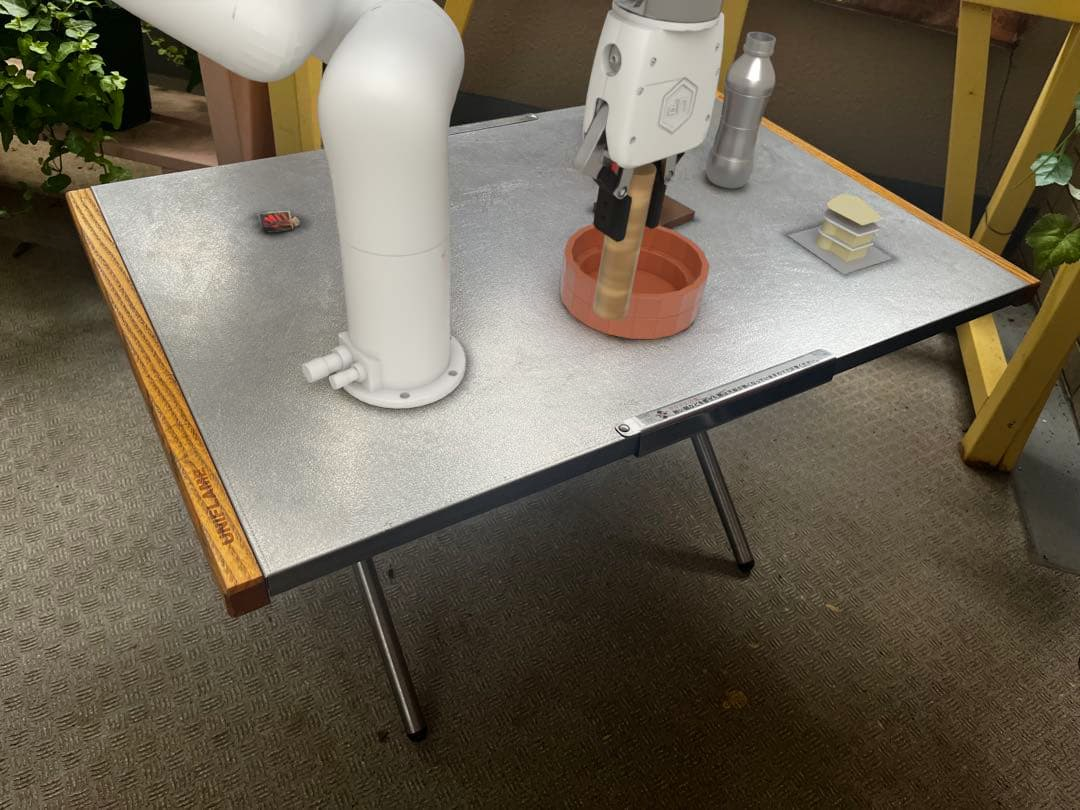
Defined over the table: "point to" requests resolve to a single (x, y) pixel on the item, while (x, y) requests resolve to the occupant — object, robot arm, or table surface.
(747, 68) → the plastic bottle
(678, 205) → the board
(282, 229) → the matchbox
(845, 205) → the stacked layers on plate
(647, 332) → the bowl
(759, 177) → the table surface
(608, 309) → the stirring stick
